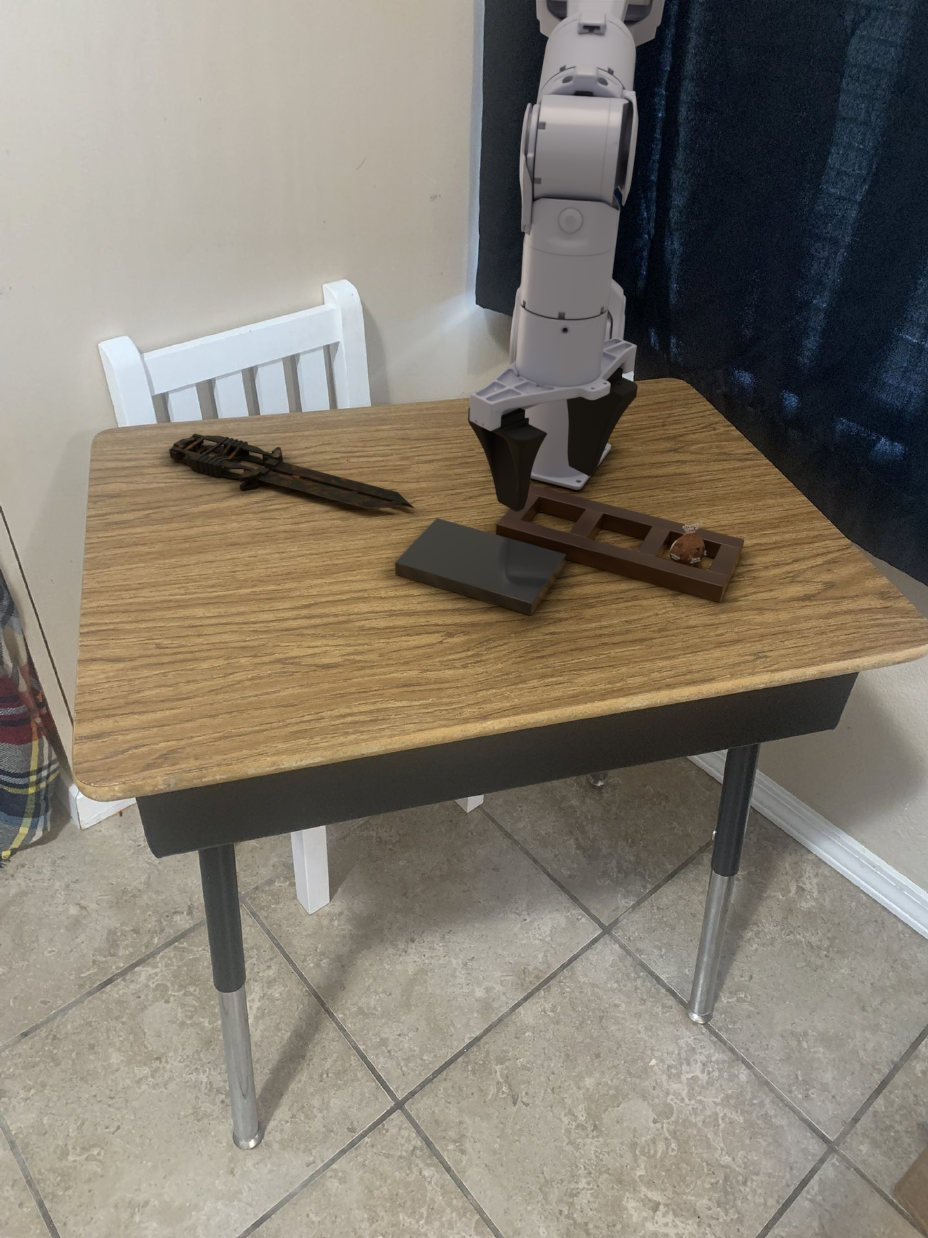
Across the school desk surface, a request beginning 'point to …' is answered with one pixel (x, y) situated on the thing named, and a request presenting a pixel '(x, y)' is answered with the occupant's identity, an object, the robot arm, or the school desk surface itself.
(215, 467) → the knife
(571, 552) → the rack
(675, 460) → the school desk surface
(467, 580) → the board
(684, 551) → the chocolate
